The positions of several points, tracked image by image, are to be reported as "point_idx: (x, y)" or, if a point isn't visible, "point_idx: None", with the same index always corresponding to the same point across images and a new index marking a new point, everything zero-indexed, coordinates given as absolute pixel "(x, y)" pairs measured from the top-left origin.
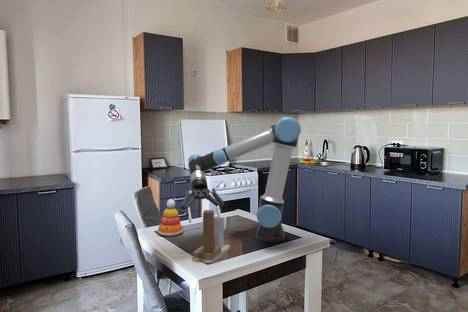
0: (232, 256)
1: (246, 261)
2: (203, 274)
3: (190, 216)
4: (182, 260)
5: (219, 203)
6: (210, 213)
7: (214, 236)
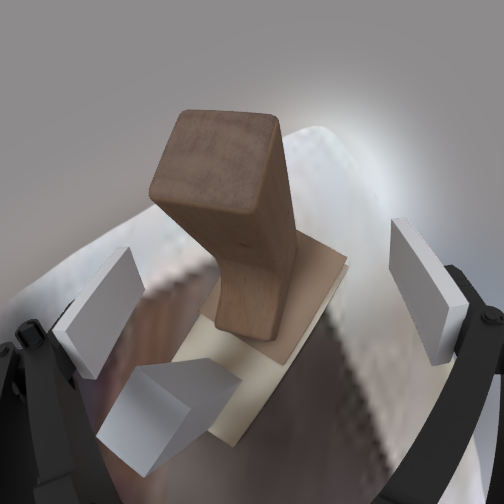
0: (170, 289)
1: (139, 228)
2: (308, 141)
3: (407, 233)
4: (387, 283)
5: (32, 349)
6: (207, 112)
7: (210, 376)
